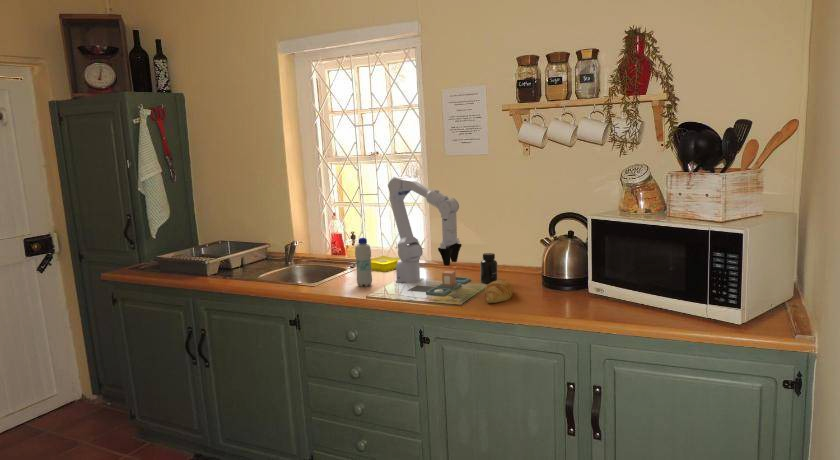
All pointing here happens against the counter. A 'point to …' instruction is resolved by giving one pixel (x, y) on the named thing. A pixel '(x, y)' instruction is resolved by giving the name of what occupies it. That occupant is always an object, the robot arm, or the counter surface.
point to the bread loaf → (498, 291)
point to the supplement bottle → (488, 268)
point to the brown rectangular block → (449, 278)
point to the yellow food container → (384, 263)
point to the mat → (421, 288)
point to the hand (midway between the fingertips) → (450, 263)
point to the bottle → (363, 263)
